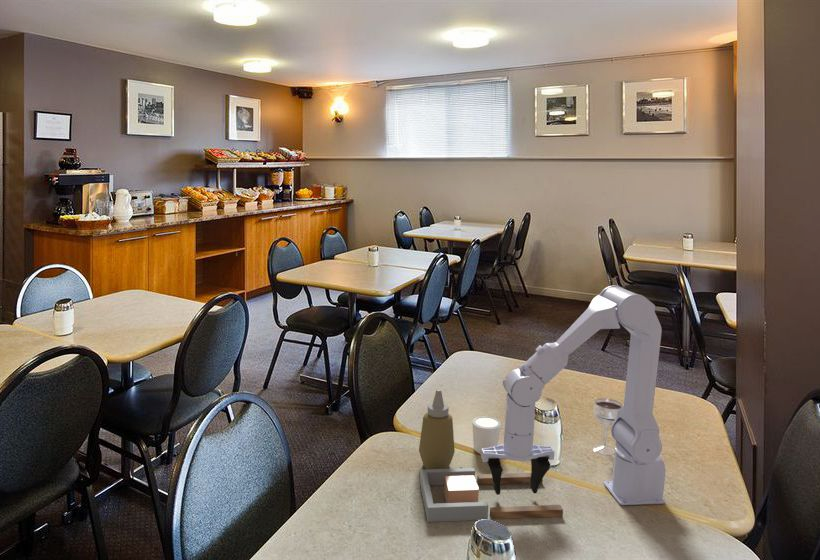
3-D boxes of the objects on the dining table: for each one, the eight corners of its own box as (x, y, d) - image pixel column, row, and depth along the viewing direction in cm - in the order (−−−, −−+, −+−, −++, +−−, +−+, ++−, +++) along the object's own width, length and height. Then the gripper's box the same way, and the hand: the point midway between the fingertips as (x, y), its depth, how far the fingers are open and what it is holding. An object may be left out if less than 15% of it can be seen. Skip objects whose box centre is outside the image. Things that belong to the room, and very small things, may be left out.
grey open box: (473, 480, 112) (473, 467, 111) (487, 519, 99) (488, 505, 99) (419, 482, 111) (420, 469, 110) (427, 521, 98) (427, 507, 97)
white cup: (499, 457, 122) (500, 430, 120) (469, 454, 123) (471, 426, 122) (500, 443, 128) (501, 417, 127) (472, 440, 130) (473, 414, 128)
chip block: (472, 492, 108) (473, 475, 107) (477, 507, 103) (478, 489, 102) (444, 493, 107) (444, 476, 107) (448, 508, 102) (448, 490, 102)
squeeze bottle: (455, 476, 114) (458, 398, 110) (418, 475, 114) (420, 397, 110) (452, 456, 122) (455, 384, 118) (418, 456, 122) (420, 383, 118)
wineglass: (586, 442, 130) (590, 397, 128) (614, 444, 129) (619, 398, 127) (593, 456, 123) (597, 408, 121) (622, 458, 123) (627, 410, 120)
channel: (540, 478, 113) (540, 472, 113) (562, 516, 101) (563, 509, 100) (477, 480, 112) (477, 474, 112) (491, 519, 99) (492, 512, 99)
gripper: (547, 419, 108) (543, 478, 111) (478, 421, 107) (476, 481, 109) (560, 435, 101) (555, 498, 104) (486, 437, 100) (483, 501, 102)
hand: (515, 491), depth 106 cm, fingers open, 7 cm apart
